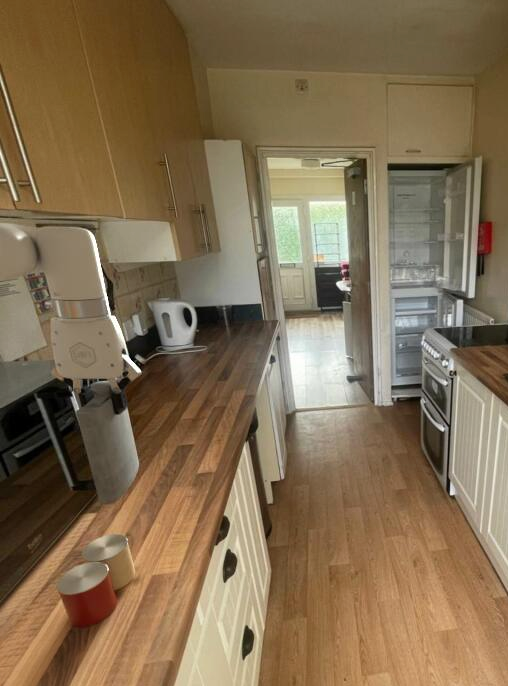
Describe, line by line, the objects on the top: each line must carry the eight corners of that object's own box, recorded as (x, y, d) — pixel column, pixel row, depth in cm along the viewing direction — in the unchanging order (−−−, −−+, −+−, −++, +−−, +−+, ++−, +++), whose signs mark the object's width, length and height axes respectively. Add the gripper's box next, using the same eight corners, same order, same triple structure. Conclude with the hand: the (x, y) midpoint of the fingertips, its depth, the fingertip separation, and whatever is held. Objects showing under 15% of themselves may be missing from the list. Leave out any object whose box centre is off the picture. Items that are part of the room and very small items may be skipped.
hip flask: (124, 461, 89) (103, 370, 82) (145, 460, 90) (126, 369, 83) (97, 505, 75) (68, 399, 67) (122, 503, 76) (97, 398, 68)
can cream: (83, 594, 73) (72, 562, 70) (103, 565, 79) (94, 535, 76) (125, 591, 73) (116, 560, 71) (142, 563, 80) (134, 533, 77)
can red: (59, 629, 66) (46, 595, 64) (83, 595, 73) (72, 562, 70) (105, 626, 67) (94, 592, 64) (125, 592, 73) (116, 560, 70)
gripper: (10, 311, 66) (42, 420, 73) (126, 314, 67) (146, 420, 74) (41, 304, 72) (68, 404, 80) (146, 306, 74) (163, 404, 81)
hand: (106, 410), depth 77 cm, fingers closed on hip flask, 4 cm apart
